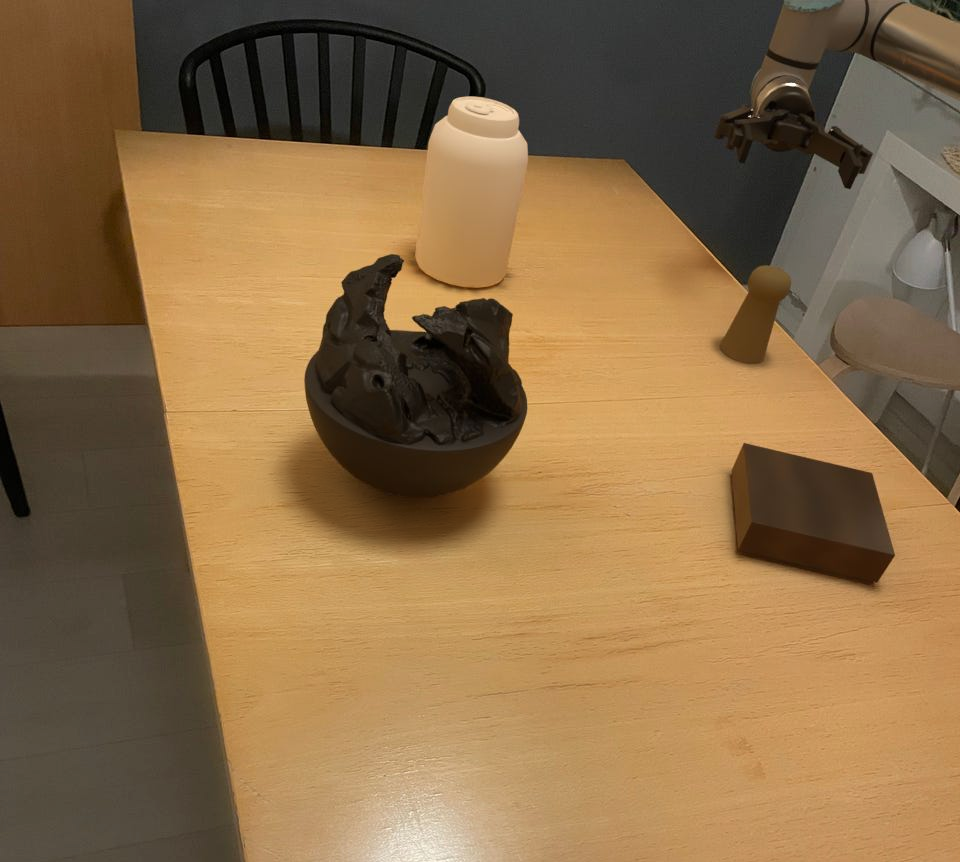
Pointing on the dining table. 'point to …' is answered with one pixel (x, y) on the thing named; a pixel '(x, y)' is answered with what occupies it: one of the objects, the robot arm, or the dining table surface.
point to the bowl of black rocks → (414, 389)
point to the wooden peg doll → (756, 315)
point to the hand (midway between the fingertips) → (799, 164)
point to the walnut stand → (809, 515)
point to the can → (471, 193)
